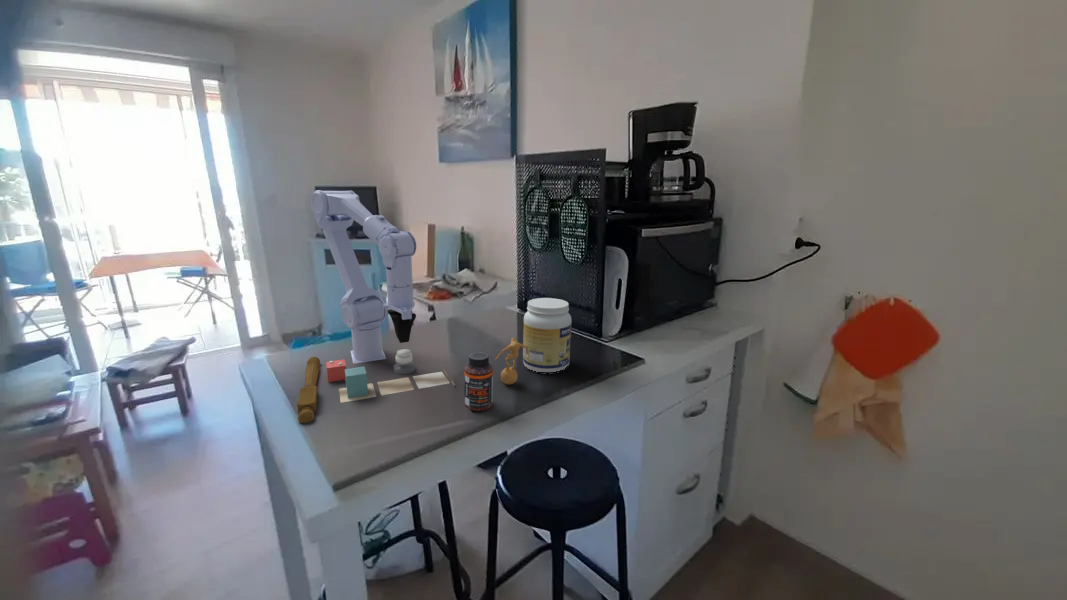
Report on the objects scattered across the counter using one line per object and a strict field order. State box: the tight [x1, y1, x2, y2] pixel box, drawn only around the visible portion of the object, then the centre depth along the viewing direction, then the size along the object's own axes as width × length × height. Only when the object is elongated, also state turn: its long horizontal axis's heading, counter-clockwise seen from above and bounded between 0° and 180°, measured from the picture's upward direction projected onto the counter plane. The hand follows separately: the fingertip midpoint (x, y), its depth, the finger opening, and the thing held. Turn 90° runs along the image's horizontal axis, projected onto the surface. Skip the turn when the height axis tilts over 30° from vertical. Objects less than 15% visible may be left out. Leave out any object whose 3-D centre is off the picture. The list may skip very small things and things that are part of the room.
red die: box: [326, 359, 347, 383], centre depth 100 cm, size 4×4×4 cm
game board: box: [338, 368, 457, 404], centre depth 97 cm, size 10×25×1 cm, turn 116°
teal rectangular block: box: [345, 365, 368, 398], centre depth 92 cm, size 4×4×5 cm
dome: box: [394, 348, 414, 364], centre depth 104 cm, size 4×4×2 cm
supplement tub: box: [522, 297, 572, 373], centre depth 109 cm, size 12×12×17 cm
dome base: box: [393, 361, 416, 375], centre depth 105 cm, size 5×5×2 cm
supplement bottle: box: [463, 351, 494, 412], centre depth 89 cm, size 6×6×11 cm
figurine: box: [495, 337, 528, 385], centre depth 98 cm, size 8×6×12 cm
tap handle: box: [296, 356, 321, 424], centre depth 94 cm, size 3×3×30 cm
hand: (403, 339), depth 103 cm, fingers open, 2 cm apart
